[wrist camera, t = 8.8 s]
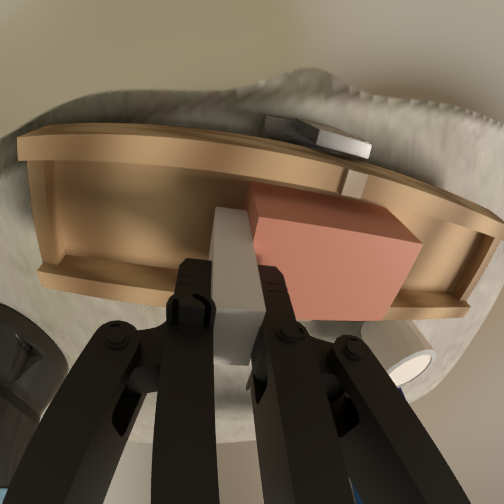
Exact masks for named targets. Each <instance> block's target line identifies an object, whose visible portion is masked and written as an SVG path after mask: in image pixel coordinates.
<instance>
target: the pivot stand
mask: <svg viewBox="0 0 504 504" xmlns="http://www.w3.org/2000/svg"><path fill="white" fill-rule="evenodd" d="M260 138H265V139H271V140H276V141H281V142H286V143H291V144H295V145H300V146H304V147H309V148H313V149H317V150H321V151H325V152H329V153H333V154H337V155H341V156H345V157H348V158H352V159H355V160H359V161H363V158H366V159H368V157H369V154H370V150H371V147H372V145H371V144H369V143H368V142H367V141H365V140H362V139H359V138H357V137H354V136H352V135H350V134H348V133H346V132H343V131H341V130H339V129H336V128H332V127H329V126H325V125H321V124H318V123H314V122H310V121H306V120H302V119H298V118H296V121H293V120H289V119H284V118H279V117H274V116H269V115H265V116H264V120H263V125H262V130H261V134H260Z"/></svg>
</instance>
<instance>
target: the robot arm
mask: <svg viewBox="0 0 504 504" xmlns="http://www.w3.org/2000/svg"><path fill="white" fill-rule="evenodd" d="M250 359H251V361H252V371H251V374H250V376H249V379H248V382H247V385H246V390H249V389H250V387H251V396H252V405H253V414H254V423H255V432H256V441H257V449H258V457H259V466H260V474H261V481H262V490H263V498H264V504H355V502H354V497H353V493H352V489H351V485H350V481H349V479H350V480H351V482H352V484H353V486H354V488H355V490H356V491H357V493H358V495H359V497H360V499H361V500H362V502H363V504H471V503H470V501H469V499H468V497H467V496H466V494H465V492H464V491H463V489H462V487H461V485H460V484H459V483H458V480H457V479H456V477H455V476H454V474H453V472H452V471H451V469H450V467H449V466H448V464H447V462H446V461H445V459H444V458H443V456H442V454H441V453H440V451H439V450H438V448H437V446H436V445H435V443H434V442H433V440H432V439H431V437H430V436H429V434H428V432H427V431H426V430H425V428H424V427H423V425H422V423H421V422H420V420H419V419H418V417H417V416H416V414H415V413H414V411H413V410H412V408H411V407H410V406H409V404H408V402H407V401H406V399H405V398H404V396H403V395H402V393H401V392H400V391H399V389H398V388H397V386H396V385H395V383H394V382H393V380H392V379H391V377H390V376H389V375H388V373H387V372H386V370H385V369H384V367H383V366H382V365H381V363H380V362H379V360H378V359H377V358H376V356H375V355H374V353H373V352H372V351H371V349H370V348H369V346H368V345H367V344H366V343H365V342H364V341H363V340H361V339H359V338H358V337H355V336H352V335H342V336H340V337H338V338H337V339H336V341H335V342H334V343H331V342H327V341H324V340H320V339H317V338H314V337H312V336H310V335H309V333H308V332H307V330H306V328H305V327H304V326H303V325H302V324H301V323H299V322H297V321H296V317H295V314H294V310H293V307H292V303H291V300H290V296H289V293H288V289H287V286H286V283H285V279H284V276H283V274H282V273H281V272H280V271H279V269H278V268H277V267H276V266H267V265H258V264H257V260H256V255H255V250H254V244H253V239H252V234H251V228H250V223H249V218H248V212H247V210H239V209H231V208H223V207H216V208H215V215H214V222H213V229H212V236H211V244H210V251H209V260H202V259H193V258H186V259H185V260H184V261H183V262H182V263H181V264H180V265H179V269H178V275H177V280H176V285H175V291H174V294H173V295H172V296H171V297H169V299H168V301H167V303H166V321H165V322H164V323H163V324H162V325H160V326H158V327H155V328H151V329H145V330H137V329H136V328H135V327H134V326H133V325H131V324H129V323H128V322H124V321H119V320H118V321H110V322H107V323H105V324H103V325H102V326H100V327H99V328H98V329H97V330H96V332H95V333H94V335H93V336H92V338H91V339H90V341H89V342H88V344H87V345H86V347H85V348H84V350H83V351H82V353H81V354H80V356H79V357H78V359H77V360H76V362H75V364H74V365H73V367H72V368H71V370H70V371H69V373H68V364H67V361H66V359H65V357H64V355H63V353H62V352H61V351H60V349H59V348H58V347H57V345H56V344H55V343H54V342H53V341H52V340H51V339H50V338H49V337H48V336H47V335H46V334H45V333H44V332H43V331H42V330H41V329H39V328H38V327H37V326H36V325H35V324H33V323H32V322H31V321H29V320H28V319H27V318H25V317H24V316H22V315H20V314H19V313H17V312H15V311H14V310H12V309H10V308H7V307H5V306H2V305H0V504H103V502H104V499H105V496H106V494H107V491H108V488H109V486H110V483H111V480H112V478H113V475H114V473H115V470H116V467H117V465H118V462H119V460H120V457H121V455H122V452H123V450H124V447H125V445H126V442H127V440H128V437H129V435H130V433H131V430H132V428H133V425H134V423H135V421H136V418H137V416H138V413H139V411H140V409H141V406H142V404H143V402H144V399H145V397H146V395H147V393H150V392H156V391H158V393H157V402H156V413H155V424H154V437H153V453H152V473H151V474H152V477H151V504H220V501H219V488H218V472H217V455H216V433H215V404H214V364H224V365H246V366H248V365H249V362H250ZM67 373H68V375H67ZM52 399H53V400H52ZM50 402H51V403H50ZM49 403H50V405H49V407H48V408H47V410H46V412H45V414H44V415H43V417H42V419H41V421H40V417H41V414H42V412H43V411H44V410H45V408H46V407H47V406H48V404H49ZM39 421H40V423H39Z"/></svg>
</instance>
